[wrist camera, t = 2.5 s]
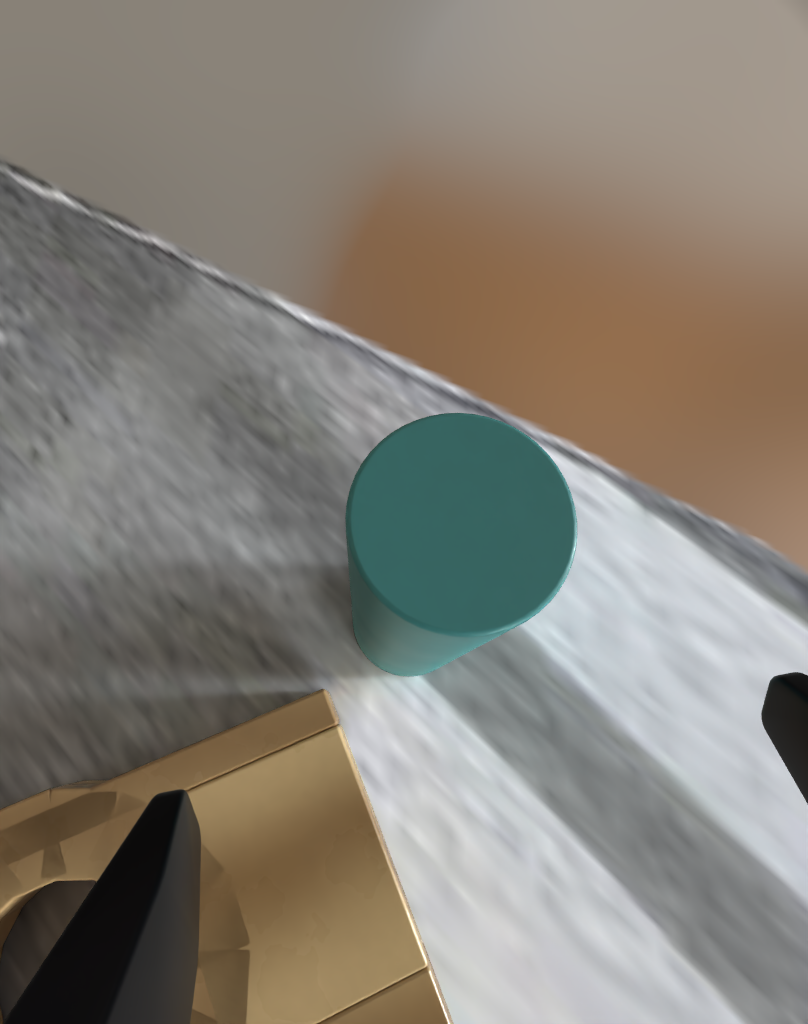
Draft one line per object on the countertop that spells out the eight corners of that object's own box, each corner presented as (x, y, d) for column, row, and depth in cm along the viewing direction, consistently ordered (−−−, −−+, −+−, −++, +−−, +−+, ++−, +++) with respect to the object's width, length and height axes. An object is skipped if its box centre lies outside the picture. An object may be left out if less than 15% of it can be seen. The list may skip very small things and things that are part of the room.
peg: (481, 650, 20) (620, 581, 9) (378, 694, 19) (401, 676, 9) (436, 549, 21) (517, 381, 10) (336, 589, 20) (310, 455, 9)
